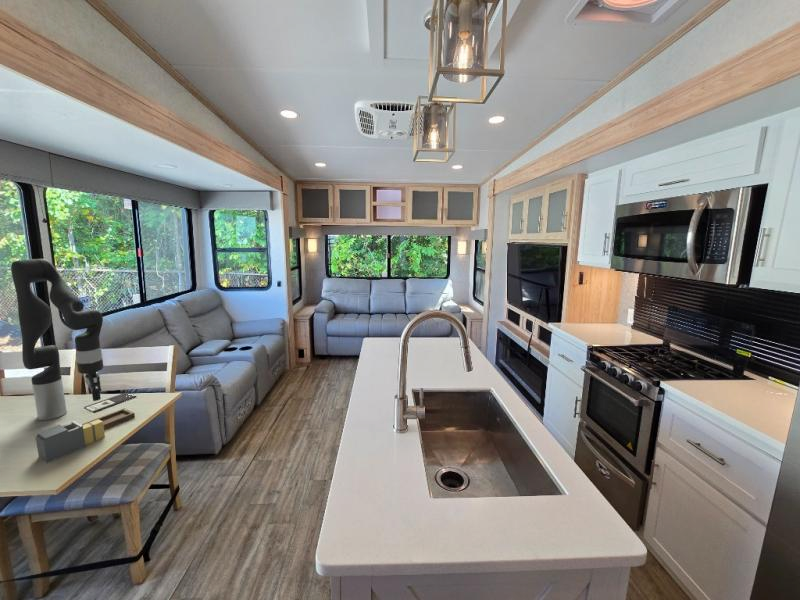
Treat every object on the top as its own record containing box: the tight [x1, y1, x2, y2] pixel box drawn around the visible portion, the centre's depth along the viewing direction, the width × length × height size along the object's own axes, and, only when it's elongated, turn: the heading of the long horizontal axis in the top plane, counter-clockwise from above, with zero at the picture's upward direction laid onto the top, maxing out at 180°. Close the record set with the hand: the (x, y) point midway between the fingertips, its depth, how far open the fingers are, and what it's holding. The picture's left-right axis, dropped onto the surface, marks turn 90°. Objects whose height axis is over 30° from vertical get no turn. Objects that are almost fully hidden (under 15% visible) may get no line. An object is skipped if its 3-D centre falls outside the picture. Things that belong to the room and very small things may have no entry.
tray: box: [76, 407, 136, 431], centre depth 147 cm, size 8×18×2 cm, turn 155°
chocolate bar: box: [83, 392, 137, 413], centre depth 165 cm, size 9×1×18 cm
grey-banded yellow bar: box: [83, 419, 106, 446], centre depth 133 cm, size 4×13×7 cm, turn 155°
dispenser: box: [34, 420, 87, 464], centre depth 127 cm, size 7×11×10 cm, turn 155°
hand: (94, 396), depth 134 cm, fingers open, 8 cm apart
